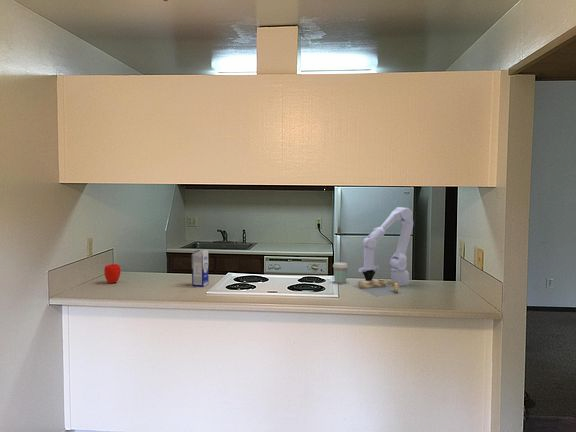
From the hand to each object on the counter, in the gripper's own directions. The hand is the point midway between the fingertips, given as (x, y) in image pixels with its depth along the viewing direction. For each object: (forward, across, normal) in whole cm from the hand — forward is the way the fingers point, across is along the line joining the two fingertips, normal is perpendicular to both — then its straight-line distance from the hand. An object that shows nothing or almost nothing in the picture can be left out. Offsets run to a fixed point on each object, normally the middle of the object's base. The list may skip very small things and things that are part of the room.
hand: (368, 283), depth 247 cm
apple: (+2, +109, -95) cm, 145 cm away
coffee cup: (+2, +7, -15) cm, 17 cm away
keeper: (+1, 0, +18) cm, 18 cm away
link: (+1, +1, +3) cm, 4 cm away
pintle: (-2, -5, +5) cm, 7 cm away
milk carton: (+2, +72, -60) cm, 94 cm away
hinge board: (+2, +3, +9) cm, 10 cm away
